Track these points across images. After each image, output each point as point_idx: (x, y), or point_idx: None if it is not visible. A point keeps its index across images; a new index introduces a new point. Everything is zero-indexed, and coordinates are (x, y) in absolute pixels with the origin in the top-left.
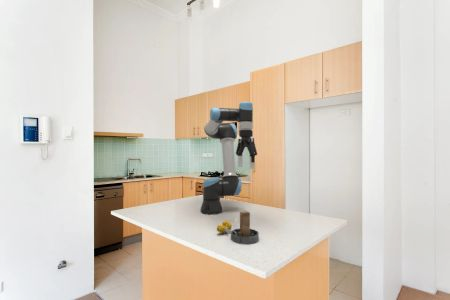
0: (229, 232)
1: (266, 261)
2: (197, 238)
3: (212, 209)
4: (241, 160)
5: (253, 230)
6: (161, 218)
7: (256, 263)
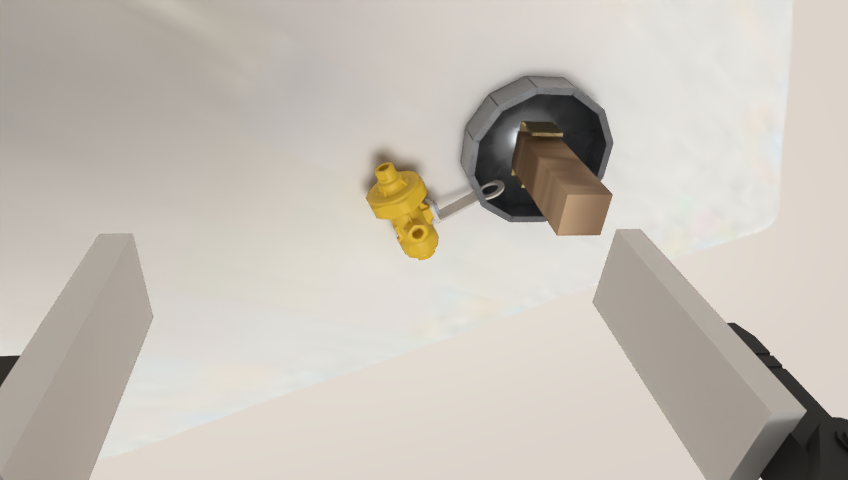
0: (462, 203)
1: (741, 184)
2: (410, 316)
3: None
4: (79, 369)
5: (534, 93)
6: None
7: (724, 220)
